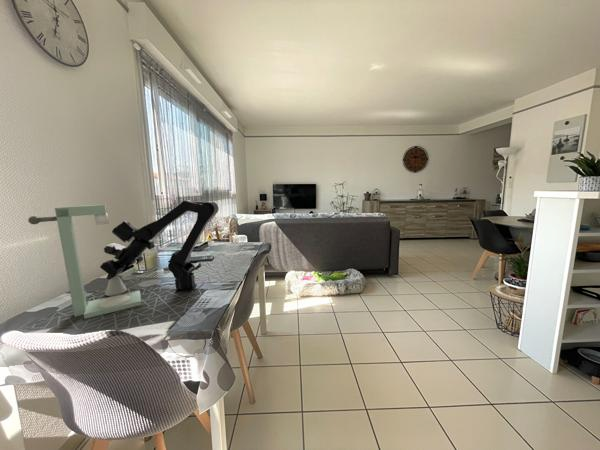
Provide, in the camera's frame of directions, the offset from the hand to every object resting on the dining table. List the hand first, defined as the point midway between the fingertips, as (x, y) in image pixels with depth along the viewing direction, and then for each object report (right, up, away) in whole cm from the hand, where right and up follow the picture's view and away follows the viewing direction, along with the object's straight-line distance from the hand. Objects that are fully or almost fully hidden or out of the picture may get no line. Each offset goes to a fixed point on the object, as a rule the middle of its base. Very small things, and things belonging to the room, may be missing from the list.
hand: (110, 277), depth 103 cm
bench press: (+5, -8, -13) cm, 16 cm away
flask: (+2, -7, +1) cm, 7 cm away
